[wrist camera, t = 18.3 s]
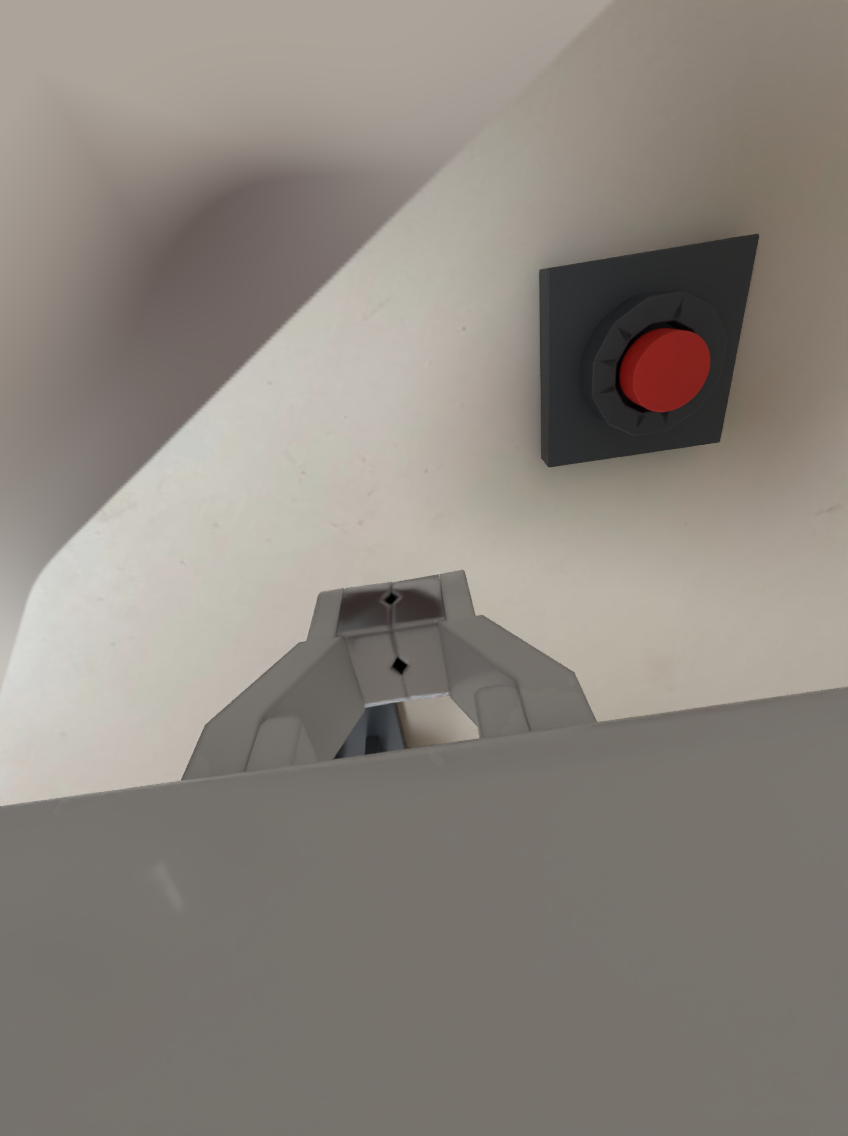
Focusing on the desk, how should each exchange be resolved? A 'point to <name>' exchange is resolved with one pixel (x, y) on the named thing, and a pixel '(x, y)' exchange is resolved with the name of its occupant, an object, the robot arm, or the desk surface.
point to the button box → (614, 322)
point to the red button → (664, 369)
